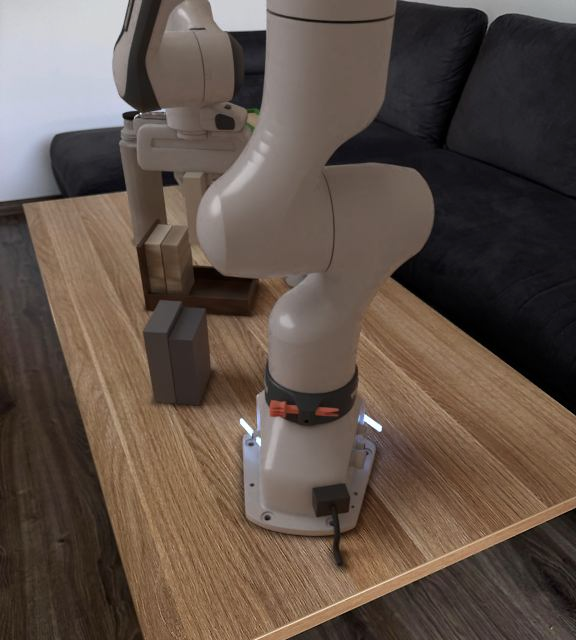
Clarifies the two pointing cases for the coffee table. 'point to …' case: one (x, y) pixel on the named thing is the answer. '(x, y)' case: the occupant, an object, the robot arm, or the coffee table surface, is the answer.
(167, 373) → the grey books
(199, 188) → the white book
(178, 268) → the dark wooden book rack
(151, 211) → the thermos bottle
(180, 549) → the coffee table surface
